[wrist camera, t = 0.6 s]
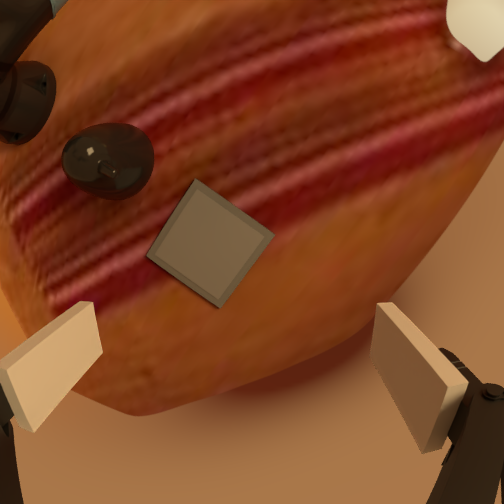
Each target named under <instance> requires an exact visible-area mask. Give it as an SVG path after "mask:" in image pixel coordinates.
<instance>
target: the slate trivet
mask: <svg viewBox="0 0 504 504" xmlns="http://www.w3.org/2000/svg"><path fill="white" fill-rule="evenodd" d="M274 236H275V234H274V233H272V232H271V231H270V230H268V229H267V228H265V227H264V226H263V225H261V224H260V223H259V222H257V221H256V220H254V219H253V218H252V217H250V216H249V215H247V214H246V213H245V212H243V211H242V210H240V209H239V208H237V207H236V206H235V205H233V204H232V203H230V202H229V201H228V200H226V199H225V198H223V197H222V196H220V195H219V194H218V193H216V192H215V191H213V190H212V189H211V188H209V187H208V186H206V185H205V184H203V183H202V182H200V181H199V180H198V179H195V180H194V182H193V183H192V185H191V186H190V188H189V189H188V191H187V192H186V194H185V195H184V197H183V198H182V200H181V201H180V203H179V204H178V206H177V207H176V209H175V210H174V212H173V213H172V215H171V217H170V218H169V220H168V221H167V223H166V224H165V226H164V228H163V229H162V231H161V232H160V234H159V236H158V237H157V239H156V240H155V242H154V244H153V245H152V247H151V249H150V250H149V252H148V253H147V255H146V256H147V257H148V258H150V259H151V260H152V261H154V262H155V263H156V264H158V265H159V266H161V267H162V268H163V269H165V270H166V271H167V272H169V273H170V274H172V275H173V276H174V277H176V278H177V279H179V280H180V281H181V282H183V283H184V284H186V285H187V286H188V287H190V288H191V289H193V290H194V291H196V292H197V293H198V294H200V295H201V296H203V297H204V298H206V299H207V300H209V301H210V302H211V303H213V304H214V305H216V306H217V307H219V308H221V307H222V306H223V304H224V303H225V302H226V300H227V299H228V298H229V296H230V295H231V294H232V292H233V291H234V290H235V288H236V287H237V286H238V284H239V283H240V282H241V280H242V279H243V278H244V276H245V275H246V274H247V272H248V271H249V269H250V268H251V267H252V265H253V264H254V263H255V261H256V260H257V259H258V257H259V256H260V255H261V253H262V252H263V251H264V249H265V248H266V247H267V245H268V244H269V243H270V241H271V240H272V238H273V237H274Z"/></svg>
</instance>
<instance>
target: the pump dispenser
mask: <svg viewBox="0 0 504 504" xmlns="http://www.w3.org/2000/svg"><path fill="white" fill-rule="evenodd" d="M61 164H62V168H63V171H64V173H65V175H66V177H67V178H68V179H69V180H70V182H71V183H72V184H74V185H75V186H76V187H77V188H79V189H81V190H82V191H84V192H86V193H88V194H90V195H93V196H96V197H99V198H103V199H108V200H122V199H127V198H129V197H132V196H134V195H135V194H137V193H138V192H139V191H140V190H141V189H142V188H143V187H144V186H145V185H146V183H147V182H148V180H149V178H150V176H151V174H152V171H153V167H154V150H153V146H152V144H151V141H150V140H149V138H148V136H147V135H146V134H145V133H144V132H143V131H142V130H140V129H139V128H137V127H135V126H133V125H130V124H125V123H103V124H98V125H94V126H90V127H87V128H85V129H83V130H81V131H79V132H78V133H76V134H75V135H74V136H73V137H71V138H70V140H69V141H68V142H67V143H66V145H65V147H64V149H63V152H62V156H61Z"/></svg>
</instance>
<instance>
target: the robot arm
mask: <svg viewBox="0 0 504 504" xmlns="http://www.w3.org/2000/svg"><path fill="white" fill-rule="evenodd" d="M67 1H68V0H0V141H2V142H4V143H7V144H16V145H18V144H23V143H26V142H28V141H29V140H31V139H32V138H33V137H34V136H35V135H36V134H37V133H38V132H39V131H40V130H41V129H42V127H43V126H44V124H45V123H46V121H47V119H48V117H49V115H50V113H51V110H52V108H53V104H54V101H55V95H56V80H55V76H54V73H53V72H52V70H51V69H50V68H49V67H48V66H47V65H45V64H42V63H40V62H37V61H19V62H16V61H17V60H18V58H19V57H20V56H21V55H22V53H23V52H24V51H25V49H26V48H27V47H28V46H29V44H30V43H31V42H32V41H33V39H34V38H35V37H36V36H37V35H38V34H39V32H40V31H41V30H42V29H43V28H44V27H45V25H46V24H47V23H48V22H49V21H50V20H51V19H54V18H55V16H56V13H57V12H58V11H59V10H60V9H61V8H62V7H63V6H64V5H65V4H66V2H67ZM102 353H103V351H102V346H101V342H100V337H99V332H98V328H97V322H96V317H95V312H94V306H93V302H84V301H80V302H78V303H77V304H75V305H74V306H73V307H71V308H70V309H68V310H67V311H66V312H64V313H63V314H61V315H60V316H59V317H57V318H56V319H54V320H53V321H52V322H50V323H49V324H47V325H46V326H45V327H43V328H42V329H41V330H39V331H38V332H37V333H35V334H34V335H33V336H31V337H30V338H28V339H27V340H26V341H24V342H23V343H22V344H21V345H19V346H18V347H17V348H15V349H14V350H13V351H11V352H10V353H9V354H7V355H6V356H5V357H3V358H2V359H1V360H0V504H24V503H23V498H22V493H21V488H20V482H19V476H18V469H17V462H16V455H15V446H14V434H13V427H12V424H11V422H10V419H11V418H12V417H13V416H15V418H16V420H17V422H18V424H19V426H20V427H21V428H23V429H26V430H28V431H30V432H33V433H34V432H35V431H36V430H37V428H38V427H39V426H40V425H41V424H42V423H43V421H44V420H45V419H46V418H47V417H48V415H49V414H50V413H51V412H52V411H53V409H54V408H55V407H56V406H57V405H58V404H59V402H60V401H61V400H62V399H63V398H64V396H65V395H66V394H67V393H68V392H69V391H70V389H71V388H72V387H73V386H74V385H75V384H76V382H77V381H78V380H79V379H80V378H81V377H82V376H83V374H84V373H85V372H86V371H87V370H88V369H89V368H90V366H91V365H92V364H93V363H94V362H95V361H96V360H97V359H98V357H99V356H100V355H101V354H102ZM370 359H371V360H372V362H373V364H374V365H375V367H376V369H377V371H378V373H379V374H380V376H381V378H382V380H383V382H384V383H385V385H386V387H387V389H388V391H389V392H390V394H391V396H392V398H393V400H394V402H395V403H396V405H397V407H398V409H399V411H400V413H401V415H402V417H403V418H404V420H405V422H406V424H407V426H408V428H409V430H410V432H411V434H412V435H413V437H414V439H415V441H416V443H417V445H418V447H419V449H420V451H421V453H422V454H423V453H427V452H431V451H435V450H439V449H442V446H443V444H444V442H445V440H446V438H447V436H448V437H449V439H450V440H451V442H452V445H451V447H450V449H449V451H448V453H447V455H446V457H445V459H444V461H443V463H442V465H443V467H442V469H441V472H440V474H439V476H438V479H437V481H436V483H435V486H434V488H433V490H432V492H431V494H430V497H429V499H428V501H427V503H426V504H494V502H495V498H496V494H497V490H498V486H499V481H500V478H501V497H502V504H504V388H503V387H502V386H499V385H496V384H491V383H486V384H482V383H481V382H480V380H479V379H478V378H477V377H476V376H475V375H474V374H473V373H472V372H471V371H470V370H469V369H468V368H467V367H465V365H464V364H463V363H462V362H460V360H459V359H458V358H457V357H456V356H455V355H454V354H453V353H452V352H450V351H448V350H446V349H444V348H439V349H438V348H437V347H435V345H434V344H433V343H432V342H431V341H430V340H429V339H428V338H427V337H426V336H425V335H424V334H423V333H422V332H421V331H420V330H419V329H418V328H417V327H416V326H415V325H414V324H413V323H412V322H411V321H410V320H409V319H408V318H407V317H406V316H405V315H404V314H403V313H402V312H401V311H400V310H399V309H398V308H397V307H396V306H395V305H394V304H393V303H391V302H390V303H377V306H376V315H375V323H374V330H373V337H372V344H371V351H370Z"/></svg>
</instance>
